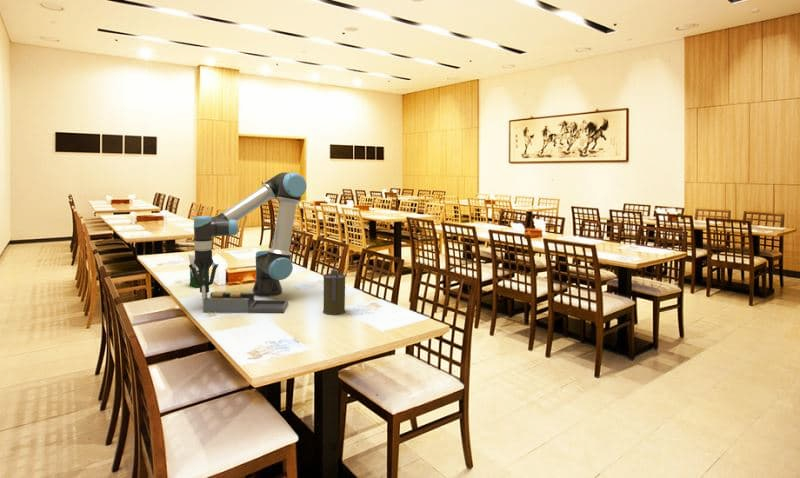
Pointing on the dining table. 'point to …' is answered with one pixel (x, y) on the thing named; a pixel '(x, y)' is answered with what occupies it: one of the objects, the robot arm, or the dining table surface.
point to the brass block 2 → (236, 295)
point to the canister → (334, 293)
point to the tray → (268, 306)
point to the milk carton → (191, 259)
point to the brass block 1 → (218, 295)
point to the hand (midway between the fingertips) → (204, 299)
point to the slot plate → (228, 303)
